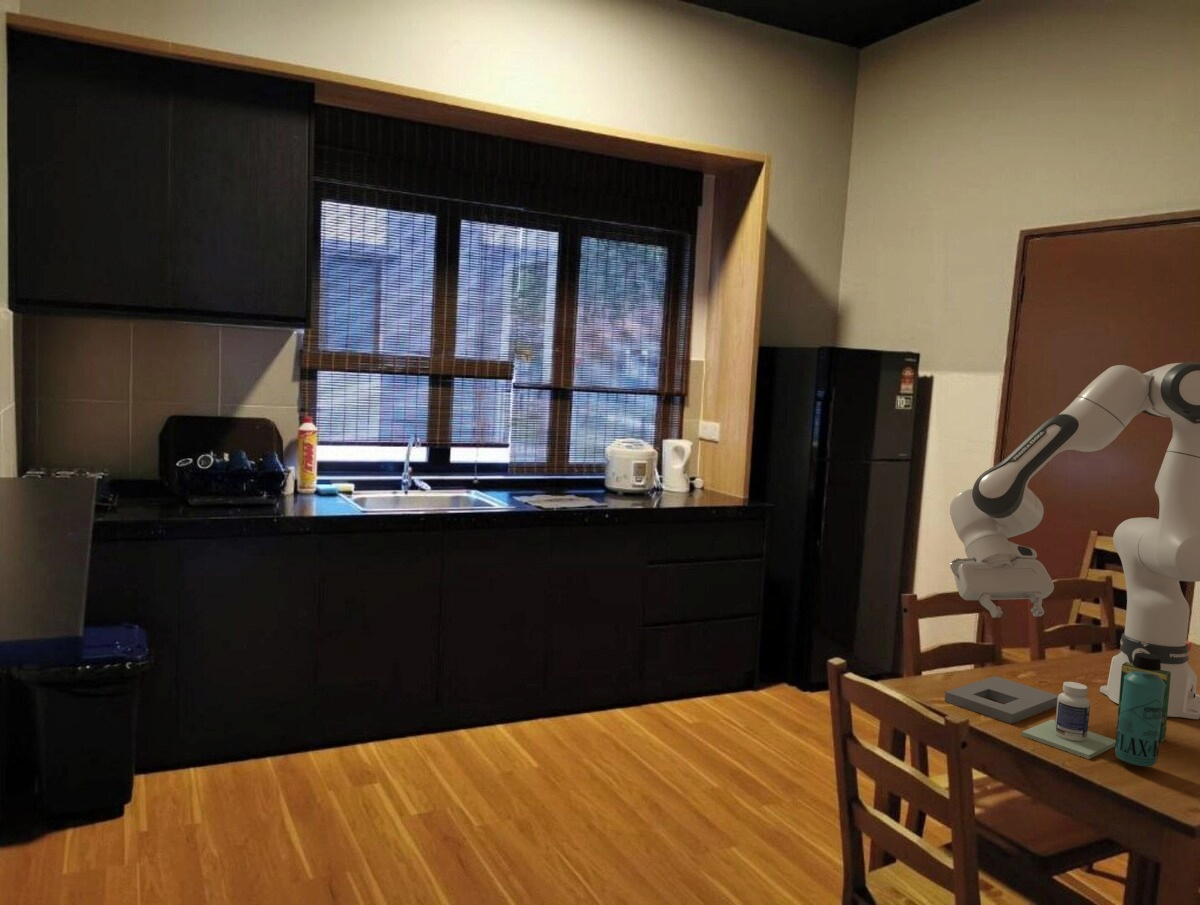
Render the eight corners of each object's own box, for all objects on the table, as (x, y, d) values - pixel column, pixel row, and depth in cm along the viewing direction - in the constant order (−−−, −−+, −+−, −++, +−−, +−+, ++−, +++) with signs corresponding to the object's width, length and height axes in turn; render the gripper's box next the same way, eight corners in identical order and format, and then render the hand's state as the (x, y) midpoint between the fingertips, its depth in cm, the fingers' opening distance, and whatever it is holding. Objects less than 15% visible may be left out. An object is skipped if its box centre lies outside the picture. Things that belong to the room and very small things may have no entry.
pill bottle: (1091, 743, 162) (1096, 691, 162) (1059, 739, 163) (1064, 688, 163) (1080, 732, 168) (1086, 682, 167) (1050, 728, 169) (1055, 678, 168)
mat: (1051, 723, 174) (1052, 719, 174) (1117, 745, 165) (1117, 740, 165) (1021, 735, 167) (1021, 731, 167) (1088, 759, 157) (1089, 755, 157)
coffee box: (1113, 729, 173) (1120, 663, 172) (1118, 725, 175) (1125, 660, 174) (1161, 743, 167) (1168, 674, 166) (1165, 739, 169) (1173, 671, 168)
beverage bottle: (1104, 761, 157) (1116, 650, 155) (1130, 757, 159) (1142, 647, 158) (1139, 777, 151) (1152, 662, 149) (1165, 772, 153) (1178, 659, 152)
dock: (994, 684, 196) (995, 675, 195) (1059, 705, 185) (1060, 695, 184) (944, 701, 183) (945, 691, 183) (1011, 724, 172) (1012, 714, 172)
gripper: (954, 550, 185) (980, 608, 176) (1041, 549, 189) (1071, 606, 180) (940, 567, 190) (965, 624, 181) (1026, 565, 194) (1054, 622, 185)
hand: (1018, 615), depth 181 cm, fingers open, 8 cm apart
